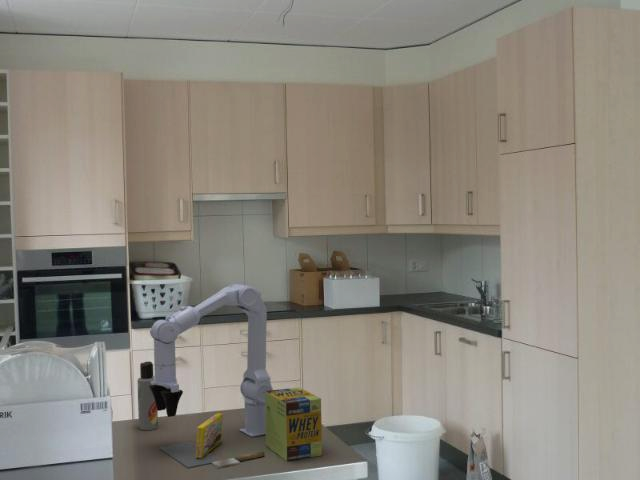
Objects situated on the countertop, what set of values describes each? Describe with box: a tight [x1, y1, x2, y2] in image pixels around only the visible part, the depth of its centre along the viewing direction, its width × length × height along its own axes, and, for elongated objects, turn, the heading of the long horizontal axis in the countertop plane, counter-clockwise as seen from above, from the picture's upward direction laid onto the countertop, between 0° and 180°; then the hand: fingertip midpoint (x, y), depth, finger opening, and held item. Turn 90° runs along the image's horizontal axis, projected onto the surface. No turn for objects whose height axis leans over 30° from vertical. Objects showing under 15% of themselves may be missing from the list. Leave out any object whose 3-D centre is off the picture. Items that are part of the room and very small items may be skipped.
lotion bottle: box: [137, 361, 159, 431], centre depth 239 cm, size 6×6×20 cm
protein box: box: [265, 387, 323, 462], centre depth 215 cm, size 10×15×16 cm
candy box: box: [195, 412, 224, 458], centre depth 216 cm, size 16×2×8 cm, turn 168°
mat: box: [159, 441, 220, 469], centre depth 213 cm, size 9×20×1 cm, turn 32°
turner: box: [212, 450, 265, 469], centre depth 207 cm, size 14×4×1 cm, turn 122°
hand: (166, 413), depth 218 cm, fingers open, 7 cm apart
